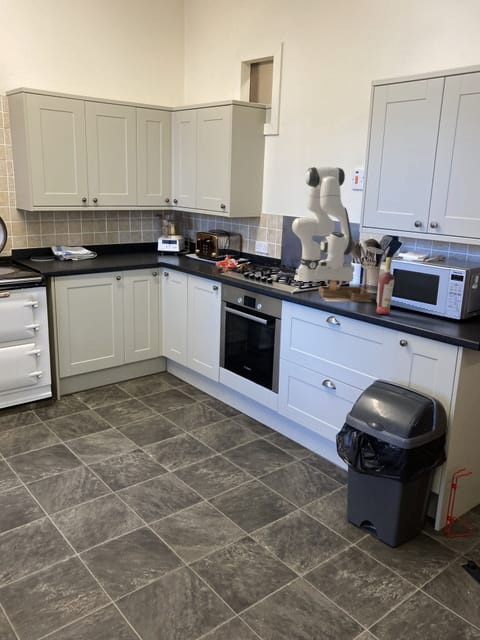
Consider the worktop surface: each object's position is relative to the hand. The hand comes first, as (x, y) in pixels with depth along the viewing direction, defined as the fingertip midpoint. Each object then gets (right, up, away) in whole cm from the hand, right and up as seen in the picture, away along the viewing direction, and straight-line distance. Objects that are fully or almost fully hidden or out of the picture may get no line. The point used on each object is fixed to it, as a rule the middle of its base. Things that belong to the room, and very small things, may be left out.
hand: (333, 288), depth 293 cm
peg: (0, -4, +1) cm, 4 cm away
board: (+6, -6, -1) cm, 9 cm away
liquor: (+20, -15, -28) cm, 37 cm away
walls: (+6, -5, -2) cm, 8 cm away
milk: (+25, -9, -7) cm, 27 cm away
